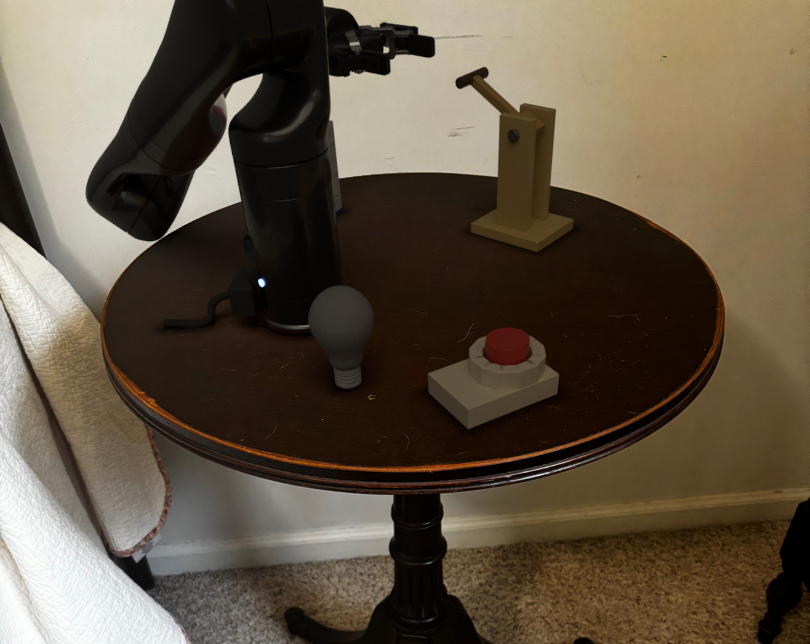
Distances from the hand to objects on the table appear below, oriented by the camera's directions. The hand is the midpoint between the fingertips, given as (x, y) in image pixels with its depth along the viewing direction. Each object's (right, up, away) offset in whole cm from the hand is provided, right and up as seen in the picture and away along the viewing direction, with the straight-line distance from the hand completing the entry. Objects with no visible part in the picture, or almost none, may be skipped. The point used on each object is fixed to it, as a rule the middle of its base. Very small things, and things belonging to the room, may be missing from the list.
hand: (411, 56), depth 97 cm
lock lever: (+10, -9, -3) cm, 14 cm away
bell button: (+9, -42, -23) cm, 49 cm away
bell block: (+8, -45, -21) cm, 50 cm away
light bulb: (-6, -44, -19) cm, 48 cm away
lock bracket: (+14, -20, +4) cm, 24 cm away
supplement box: (-13, -15, +11) cm, 23 cm away
